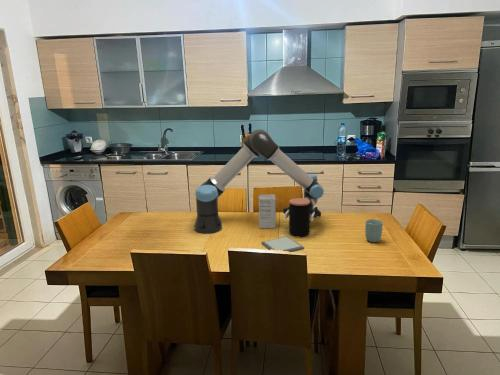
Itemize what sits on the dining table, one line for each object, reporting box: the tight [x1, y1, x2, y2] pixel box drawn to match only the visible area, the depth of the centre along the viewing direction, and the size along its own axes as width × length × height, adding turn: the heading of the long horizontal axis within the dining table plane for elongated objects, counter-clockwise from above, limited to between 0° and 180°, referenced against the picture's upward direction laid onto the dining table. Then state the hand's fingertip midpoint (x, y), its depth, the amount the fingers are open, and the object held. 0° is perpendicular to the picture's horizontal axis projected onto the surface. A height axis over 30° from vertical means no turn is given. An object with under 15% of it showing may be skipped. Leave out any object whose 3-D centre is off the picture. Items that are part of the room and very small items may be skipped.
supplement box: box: [258, 194, 277, 229], centre depth 205 cm, size 10×9×17 cm
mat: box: [261, 236, 305, 253], centre depth 178 cm, size 15×15×1 cm
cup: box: [364, 218, 384, 243], centre depth 181 cm, size 8×8×10 cm
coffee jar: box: [288, 197, 311, 238], centre depth 191 cm, size 11×11×18 cm
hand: (298, 217), depth 189 cm, fingers open, 13 cm apart
